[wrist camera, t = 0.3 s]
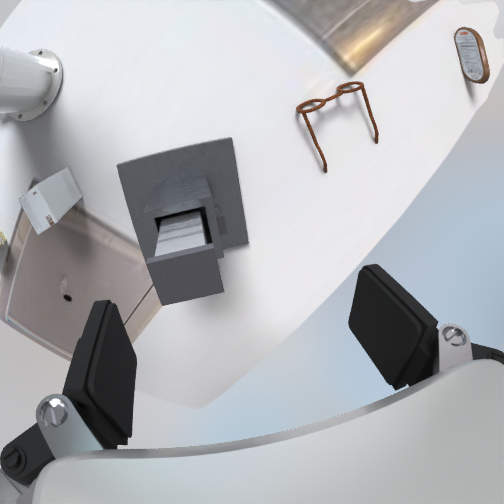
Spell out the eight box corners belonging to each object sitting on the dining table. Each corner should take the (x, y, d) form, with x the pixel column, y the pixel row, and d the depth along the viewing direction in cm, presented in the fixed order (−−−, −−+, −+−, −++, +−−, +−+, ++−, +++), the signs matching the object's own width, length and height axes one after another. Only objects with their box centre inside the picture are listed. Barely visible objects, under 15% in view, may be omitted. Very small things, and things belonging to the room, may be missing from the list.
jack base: (148, 262, 47) (139, 309, 35) (118, 163, 38) (92, 182, 27) (246, 239, 50) (267, 280, 38) (230, 137, 41) (248, 144, 29)
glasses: (350, 80, 40) (366, 78, 36) (376, 142, 47) (392, 146, 42) (290, 108, 41) (302, 108, 37) (323, 173, 47) (336, 180, 43)
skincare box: (50, 178, 36) (15, 199, 26) (70, 164, 36) (36, 182, 26) (66, 208, 39) (35, 237, 29) (85, 196, 39) (57, 222, 29)
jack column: (170, 224, 43) (162, 306, 25) (162, 196, 41) (145, 263, 23) (206, 215, 44) (224, 292, 26) (200, 187, 42) (213, 247, 23)
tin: (468, 82, 43) (493, 85, 36) (462, 82, 43) (488, 84, 35) (455, 29, 35) (480, 27, 28) (449, 27, 35) (474, 25, 28)
